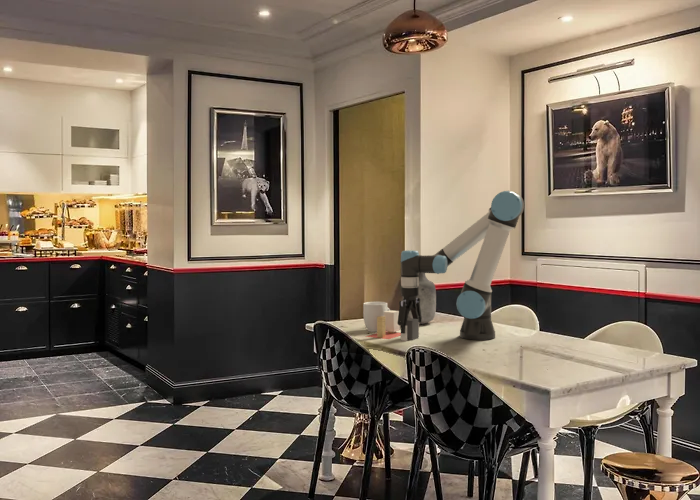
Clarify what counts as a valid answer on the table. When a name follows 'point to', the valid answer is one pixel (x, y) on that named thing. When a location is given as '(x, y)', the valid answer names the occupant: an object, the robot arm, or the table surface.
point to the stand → (390, 325)
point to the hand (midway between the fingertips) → (410, 338)
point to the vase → (426, 299)
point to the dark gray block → (412, 329)
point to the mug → (373, 314)
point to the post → (381, 327)
